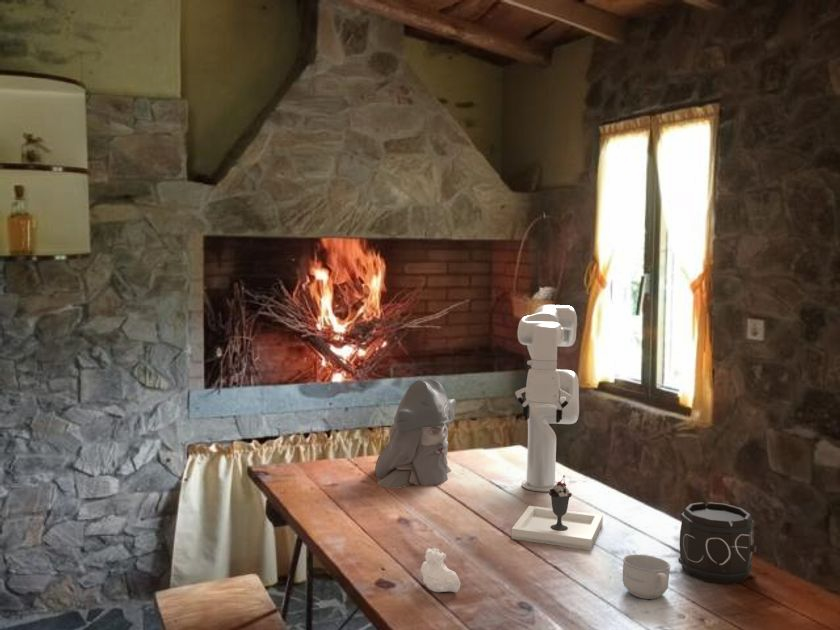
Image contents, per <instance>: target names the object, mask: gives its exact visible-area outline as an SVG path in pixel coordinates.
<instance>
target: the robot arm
mask: <svg viewBox="0 0 840 630" xmlns="http://www.w3.org/2000/svg"><path fill="white" fill-rule="evenodd" d="M577 327H578V317H577V313H576V310H575V308H574V307H573V306H570V305H564V304H563V305H560V304H556V305H555V304H544V305H540V306H538V307H537V308H536V309H535V310H534V313H532V314H530V315H526V316H523V317H522V318H520V320H519V323H518V327H517V339H518V342H519V343H520V344H521V345H523V346H527V351H528V353H529V357H530V358H531V359H530V360H527V362H526V364H527V365H529V366H530V367H531V368H529V369H528V372H527V376H526V377H527V378H526V384H525V385H526V386H525V387H523V388H520V389H518V390H516V391H515V393H514V394H515V396H516V398H517V401H518V402H519V403H520V404H521V406H522V407H523V410H522V411H523V412H522V414H523V415H522V416H523V417H524V420H525V421H527V455H526V457H527V459H526V462H527V463H526V465H527V466H526V479H523V480H522V482H521V486H522V488H524V489H525V490H528V491H533V492H543V493H544V492H546V493H547V492H548V493H549V492H550V489H553V487H554V486H555V485H556V484H557V483H558V482H559V481H556V467H557V466H556V464H557V463H556V460H557V459H556V457H557V456H556V455H557V435H556V433H555V431H554V430H553V428H552V426H550V424H556V425H557V424H559V425H561V424H562V425H572V424H575V423H577V421H578V419H579V415H580V399H579V398H580V393H579V392H580V389H579V387H580V385H579V377H578V375H577V373H576V372H575V371H573V370H570V369H558V368H557V366H558V364H557V361H558V347H565V348H566V347H572V346H574V344H575V342H576V339H577ZM523 393H525V398H524V397H523V396H522V394H523Z"/></svg>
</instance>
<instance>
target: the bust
mask: <svg viewBox="0 0 840 630" xmlns="http://www.w3.org/2000/svg"><path fill="white" fill-rule="evenodd" d="M456 403H457V401H456V399H455V398H448V396H447V394H446V390H445V388H444V387H443V385H442V384H441V383H440V382H439V381H437V380H435V379H432V378H424V379H422V380H421V379H418V380H415V381H414V382H413V383H412V384H410V385H409V387H408V389H407V390H406V391H405V394H404V395H403V397H402V398H401V400H400V402H399V404H398V407H397V411H396V413H395V415H394V418H393V425H392V426H391V428H390V430H389V438H388V439H389V440H388V443H387V444H386V446H385V448H383V450H382V451H381V453H379V455H378V457H377V459H376V463H375V467H374V475H375V476H376V477H377V478H380V480H378V481H377V482H376V484H377V483H378V485H379V487H382V486H383V487H384V488H386V487H387V488H386V489H400V488H399V487H402V488H405V487H404V486H406V487H409V486H408V485H410V486H413V484H414V485H415V486H424V487H426V486H428V485H429V486H437V484H438V485H441V484H440V483H442V484H444V483H446V482H448V480H449V479H448V473H450V472H452V469H451V468H450V466H448V459H447V455H448V448H449V442H448V437H449V429H448V426H449V424H452V423H453V421H454V420H455V415H456V414H455V413H456V405H457V404H456ZM445 481H446V482H445ZM378 485H377V486H378ZM383 487H382V488H383Z"/></svg>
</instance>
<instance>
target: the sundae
mask: <svg viewBox="0 0 840 630" xmlns="http://www.w3.org/2000/svg"><path fill="white" fill-rule="evenodd" d="M565 477H566V475H562V479H561V480H560V481H557V482H558V483H557V484H556V485H555V486H554V487H553V489H550V491H549V492H548V495H549V496H550V499H551V508H552V509H553V512H554V514H555V515H557V524H556V525H552V526H551V529H553V530H557V531H565V530H567V529H568V527H567V526H564V525H562V522H561V517H562V516H563V515H565V513H566V512H567V510H568V507H569V501H570V498H571V497H572V495H573V493H572V492H570V490H569V489H568V487H567V484H566V481H565V480H564V478H565ZM562 481H563V482H562Z"/></svg>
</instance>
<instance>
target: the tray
mask: <svg viewBox="0 0 840 630" xmlns="http://www.w3.org/2000/svg"><path fill="white" fill-rule="evenodd" d="M603 516H604V514H597V513H590V512H582V511H574V510H568V509H567V512H566V513H565V515H563V516H562V517H561V522H562V525H564V526H567V527H568V529H567V530H565V531H557V530H553V529H551V526H552V525H556V524H557V515H555V514H554V512H553V509H552V507H542V506H536V505H528V507H527V508H526V509H525V511H524V512H523V513H522V514H521V516H520V517H519V518H518V520H517V521H516V523H515V524H514V525H513V527H512V528H511V540H516V541H522V542H523V541H524V542H532V543H539V544H544V543H545V545H546V544H547V545H553V546H559V547H568V548H573V549H579V550H585V551H586V550H588V551H592V549H593V547H594V544H595V542H596V540H597V538H598V535H599V533H600V531H601V529H602V527H603V521H604V519H603V518H604V517H603Z"/></svg>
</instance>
